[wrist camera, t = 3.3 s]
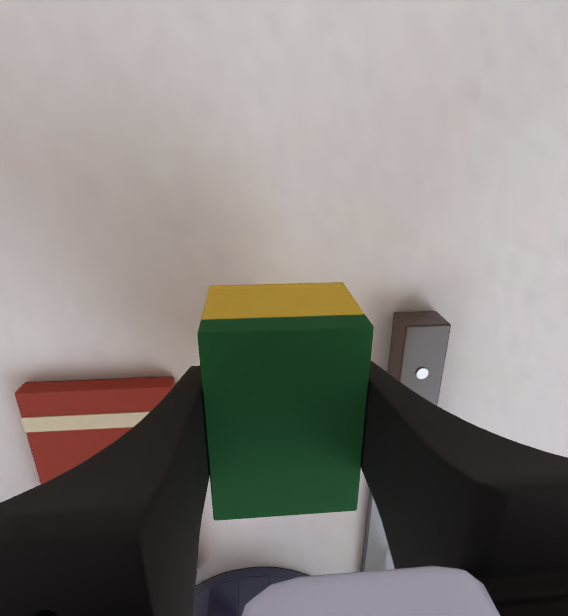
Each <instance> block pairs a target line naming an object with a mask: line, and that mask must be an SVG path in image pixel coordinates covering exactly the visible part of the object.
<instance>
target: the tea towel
mask: <svg viewBox="0 0 568 616" xmlns="http://www.w3.org/2000/svg"><path fill="white" fill-rule="evenodd" d="M174 386H175V381H174V377H148V378H124V379H100V380H76V381H52V382H29V383H24V384H23V385H22V386H21V387H20V388H19V389H18V390H17V391H16V392H15V396H16V399H17V403H18V406H19V410H20V413H21V418H20V419H21V422H22V426H23V429H24V432H26V434H27V437H28V440H29V444H30V447H31V451H32V454H33V458H34V461H35V464H36V468H37V471H38V475H39V478H40V482H41V484H43V483H45V482H47V481H49V480H51V479H53V478H55V477H57V476H59V475H61V474H63V473H65V472H67V471H68V470H70V469H72V468H74V467H75V466H77V465H79V464H81V463H82V462H84V461H86V460H87V459H89V458H90V457H92V456H93V455H95V454H96V453H98V452H100V451H101V450H103V449H104V448H106V447H107V446H109V445H110V444H112V443H113V442H115V441H116V440H117V439H119V438H120V437H121V436H123V435H124V434H125V433H126V432H128V431H129V430H130V429H131V428H133V427H134V426H135V425H136V424H137V423H139V422H140V421H141V420H142V419H143V418H144V417H145V416H146V415H147V414H148V413H149V412H150V411H151V410H152V409H153V408H154V407H155V406H156V405H157V404H158V403H159V402H160V401H161V400H162V399H163V398H164V397H165V396H166V395H167V394H168V393H169V391H170V390H171V389H172V388H173V387H174ZM196 574H197V570H196ZM195 583H196V580H195Z"/></svg>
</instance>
